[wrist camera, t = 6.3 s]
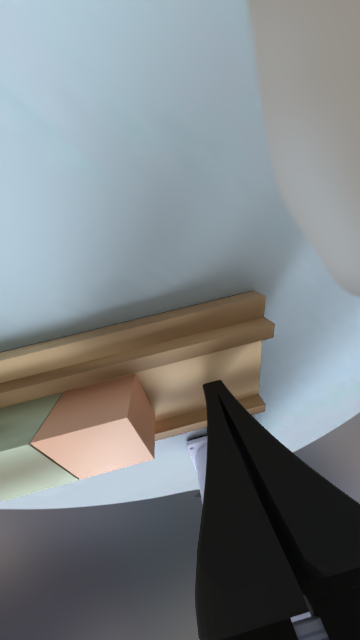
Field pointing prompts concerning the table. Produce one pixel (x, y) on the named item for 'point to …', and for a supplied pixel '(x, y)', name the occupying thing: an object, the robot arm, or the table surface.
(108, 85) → the table surface
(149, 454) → the peach pink cube
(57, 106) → the table surface
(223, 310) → the oak channel board
